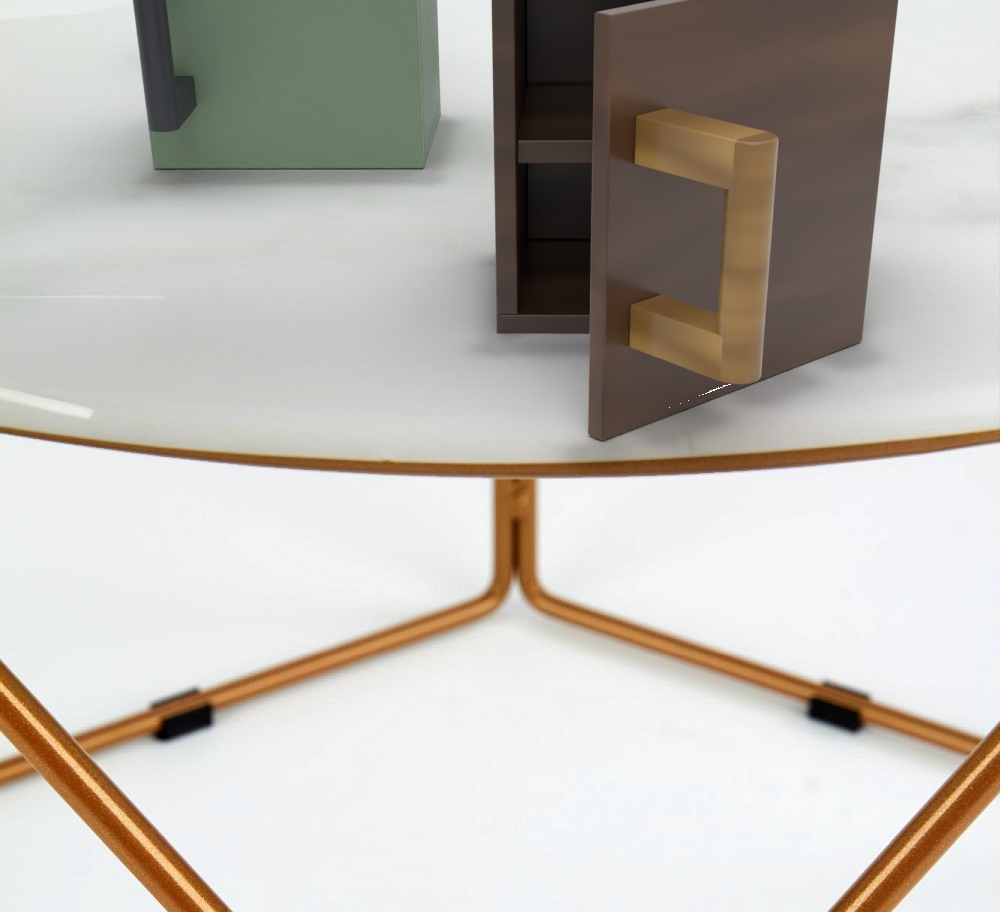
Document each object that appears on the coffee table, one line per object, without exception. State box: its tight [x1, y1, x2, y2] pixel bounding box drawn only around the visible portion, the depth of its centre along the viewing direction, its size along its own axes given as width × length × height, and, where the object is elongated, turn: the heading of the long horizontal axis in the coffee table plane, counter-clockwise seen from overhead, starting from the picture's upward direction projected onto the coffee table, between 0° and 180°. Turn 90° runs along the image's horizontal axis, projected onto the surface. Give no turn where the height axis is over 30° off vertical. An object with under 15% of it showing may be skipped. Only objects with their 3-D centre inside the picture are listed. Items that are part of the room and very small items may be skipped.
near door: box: [587, 0, 899, 442], centre depth 61 cm, size 6×15×14 cm, turn 131°
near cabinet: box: [491, 0, 655, 335], centre depth 72 cm, size 11×15×15 cm
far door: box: [132, 0, 426, 170], centre depth 87 cm, size 6×15×14 cm, turn 87°
